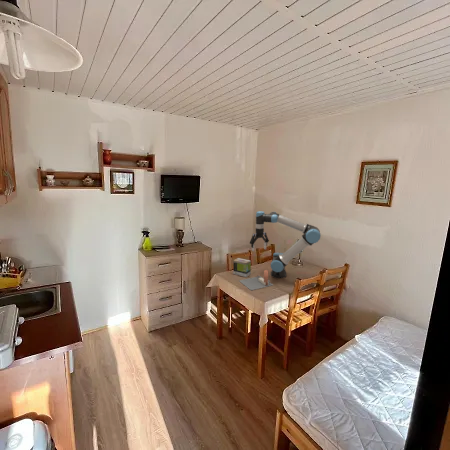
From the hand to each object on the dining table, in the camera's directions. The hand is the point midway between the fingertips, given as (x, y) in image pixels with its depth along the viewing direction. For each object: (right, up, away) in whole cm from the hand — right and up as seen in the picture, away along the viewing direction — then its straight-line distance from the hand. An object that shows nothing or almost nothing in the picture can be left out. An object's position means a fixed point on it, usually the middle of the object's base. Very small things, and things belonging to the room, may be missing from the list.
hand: (259, 250), depth 239 cm
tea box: (-15, -26, +16) cm, 34 cm away
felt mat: (-4, -30, -4) cm, 31 cm away
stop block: (+6, -30, -3) cm, 31 cm away
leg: (+3, -30, -5) cm, 30 cm away
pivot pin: (0, -29, +3) cm, 29 cm away
